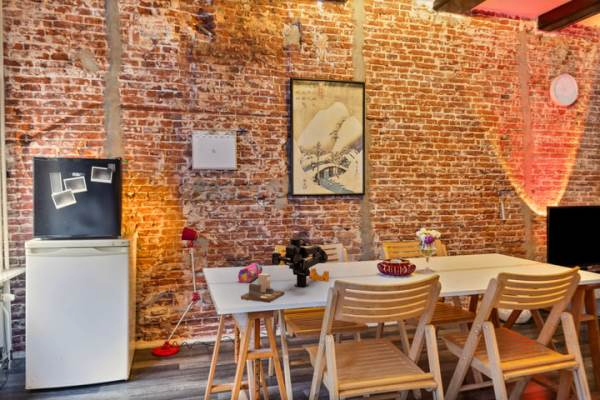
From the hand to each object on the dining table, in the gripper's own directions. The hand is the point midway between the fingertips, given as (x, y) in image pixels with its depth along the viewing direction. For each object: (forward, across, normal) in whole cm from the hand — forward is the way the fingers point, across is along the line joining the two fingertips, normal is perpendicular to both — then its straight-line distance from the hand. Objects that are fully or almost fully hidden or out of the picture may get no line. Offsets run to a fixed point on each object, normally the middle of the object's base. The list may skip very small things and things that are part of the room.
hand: (281, 265), depth 225 cm
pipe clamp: (-41, +7, +21) cm, 47 cm away
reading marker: (+8, -2, +13) cm, 15 cm away
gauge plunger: (+5, -5, +14) cm, 16 cm away
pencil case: (-24, -31, +23) cm, 45 cm away
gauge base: (+8, -6, +16) cm, 19 cm away
